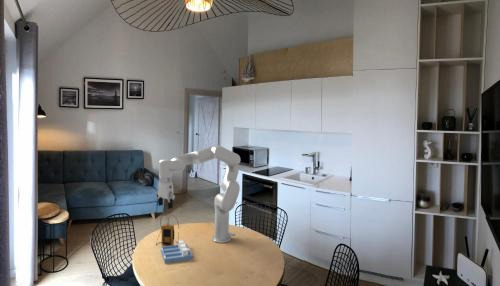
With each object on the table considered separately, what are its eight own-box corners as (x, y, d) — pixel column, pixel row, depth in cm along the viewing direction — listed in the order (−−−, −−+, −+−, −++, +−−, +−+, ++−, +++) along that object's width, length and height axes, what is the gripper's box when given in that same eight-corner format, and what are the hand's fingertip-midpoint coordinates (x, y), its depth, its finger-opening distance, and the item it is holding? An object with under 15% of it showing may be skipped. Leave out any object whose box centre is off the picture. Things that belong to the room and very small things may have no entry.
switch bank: (186, 247, 205) (186, 243, 205) (192, 259, 189) (192, 255, 189) (160, 250, 199) (160, 246, 199) (164, 263, 183) (164, 259, 182)
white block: (182, 246, 203) (183, 240, 203) (184, 248, 200) (184, 242, 199) (178, 246, 202) (178, 240, 202) (179, 249, 199) (179, 243, 198)
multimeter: (182, 240, 216) (183, 211, 215) (177, 246, 206) (178, 216, 205) (161, 239, 218) (161, 210, 216) (155, 245, 208) (155, 214, 206)
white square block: (186, 253, 192) (186, 247, 192) (188, 256, 189) (188, 250, 188) (181, 254, 191) (181, 248, 191) (183, 257, 188) (183, 250, 187)
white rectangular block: (184, 249, 198) (184, 243, 198) (186, 252, 194) (186, 246, 194) (179, 250, 197) (180, 244, 196) (181, 253, 193) (181, 246, 193)
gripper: (179, 180, 197) (179, 208, 199) (161, 176, 208) (161, 203, 209) (169, 182, 191) (169, 210, 193) (151, 178, 202) (151, 205, 204)
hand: (165, 206), depth 201 cm, fingers open, 9 cm apart
